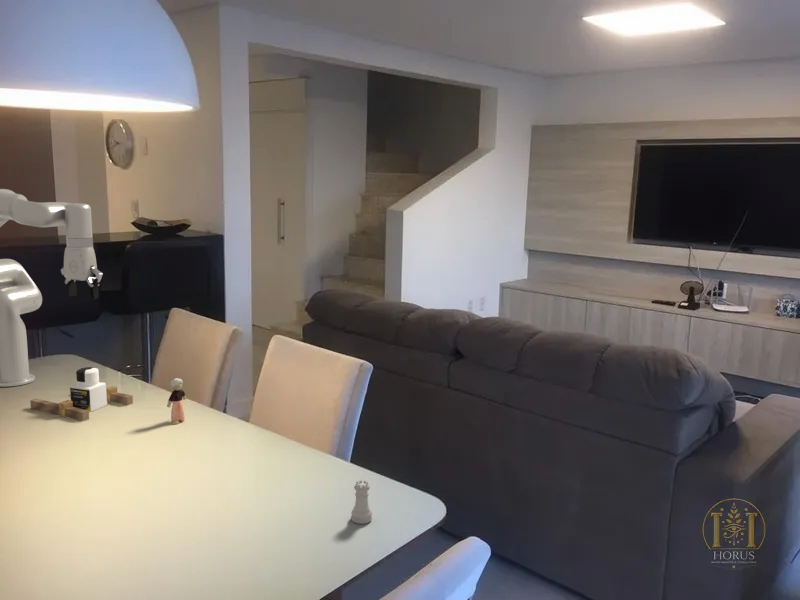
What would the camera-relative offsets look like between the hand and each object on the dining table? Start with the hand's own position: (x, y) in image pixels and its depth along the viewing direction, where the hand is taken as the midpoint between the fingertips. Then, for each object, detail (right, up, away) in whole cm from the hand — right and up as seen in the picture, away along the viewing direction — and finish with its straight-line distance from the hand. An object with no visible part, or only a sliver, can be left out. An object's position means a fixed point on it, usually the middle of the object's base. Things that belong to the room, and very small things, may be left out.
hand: (82, 297), depth 218 cm
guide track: (+5, -33, -11) cm, 35 cm away
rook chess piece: (+92, -46, -76) cm, 128 cm away
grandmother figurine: (+37, -36, -22) cm, 56 cm away
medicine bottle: (+7, -33, -12) cm, 36 cm away
